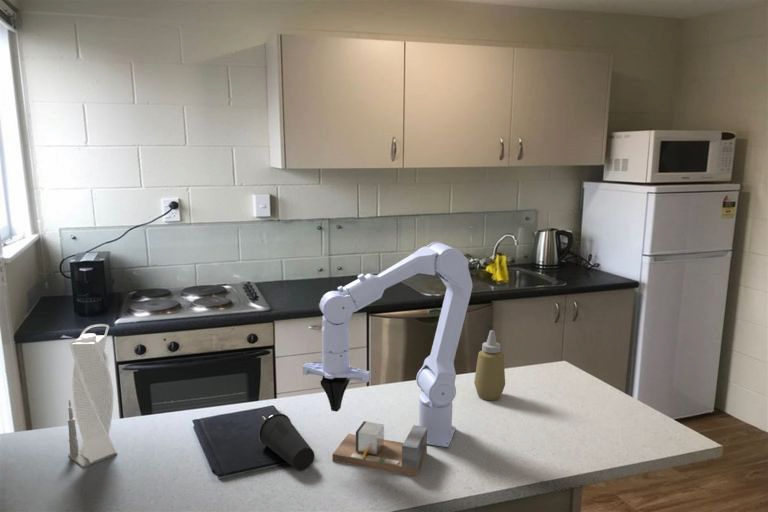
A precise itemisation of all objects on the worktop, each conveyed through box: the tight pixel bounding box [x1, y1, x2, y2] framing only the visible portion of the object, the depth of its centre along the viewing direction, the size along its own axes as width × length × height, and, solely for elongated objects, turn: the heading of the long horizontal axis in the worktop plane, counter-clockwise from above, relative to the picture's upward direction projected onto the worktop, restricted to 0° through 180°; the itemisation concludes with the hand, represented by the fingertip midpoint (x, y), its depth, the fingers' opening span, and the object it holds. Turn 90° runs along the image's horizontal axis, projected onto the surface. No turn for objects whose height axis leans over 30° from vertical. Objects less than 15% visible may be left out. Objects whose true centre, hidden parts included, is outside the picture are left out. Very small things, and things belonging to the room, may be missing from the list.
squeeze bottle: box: [473, 329, 506, 401], centre depth 151 cm, size 8×8×18 cm
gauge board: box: [331, 424, 428, 477], centre depth 121 cm, size 9×18×6 cm, turn 73°
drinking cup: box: [258, 412, 315, 472], centre depth 123 cm, size 8×8×20 cm
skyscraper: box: [67, 323, 118, 469], centre depth 119 cm, size 8×8×28 cm
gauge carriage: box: [355, 420, 385, 457], centre depth 121 cm, size 7×5×4 cm, turn 163°
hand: (336, 409), depth 123 cm, fingers closed
